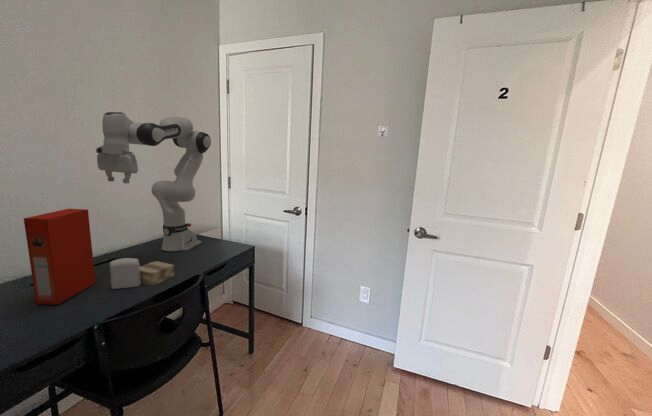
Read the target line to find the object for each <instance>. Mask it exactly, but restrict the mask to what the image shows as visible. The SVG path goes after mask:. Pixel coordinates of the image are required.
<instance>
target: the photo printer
mask: <svg viewBox="0 0 652 416" xmlns="http://www.w3.org/2000/svg"><path fill="white" fill-rule="evenodd" d="M140 265H141V264H140V260H139V259H138V258H133V257H132V258H131V257H123V258H117V259H114V260H112V261H110V262H109V272H110V273H109V274H110V283H111V284H110V285H111V289H112V290H115V289H116V290H118V289H124V288H125V289H127V288H136V287H139V286H141V284H142V283H141V277H140Z"/></svg>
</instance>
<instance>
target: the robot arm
mask: <svg viewBox="0 0 652 416" xmlns="http://www.w3.org/2000/svg"><path fill="white" fill-rule="evenodd" d="M102 134H103V137H104V138H103V144H102V145H100V146H99V147H97V148H95V151H96V153H97V155H96V163H97V168H98V169H99V171H105V175H106V177H107V181H108V182H114V181H115V177H114V176H113V172H114V173H123V175H124V178H123V179H122V183H123V184H130V179H131V177H132V174H138V172H139V168H138V161H137V157H136V155H135V154H134V152H132V151H130V145H140V146H141V145H142V146H150V147H156V146H159V145H160V144H162V142H163V141H165V140H168V139H169V140H172V142H173V143H174V145H175V146H177V147H179V148H182V149H185V153H184V154H183V155H182V156H181V158H180V159H179V161H178V163H177V165H176V166H175V167H174V169H173V172H174V175H175V176H176V178H175V180H173V181H172V180H170V181H169V180H159V181H155V182H154V183H153V184H152V186H151V193H152V195H153V197H155V199H156V200H157V201H158V203H159V206H160V208H161V210H162V217H163V224H162V231H163V237H162V243H161V250H162V251H164V252H165V251H166V252H179V251H189V250H191V249H193V248H195V247H196V245H197V246H198V244H199V245H201V244H202V241H201V240H200V239H198V236H197V233H196V232H194V231H192V230H191V229H189V228H191V226H192V223H188V222H187V223H186V212H185V209H184V208H183V207H182V206H181V205H180V204H179V203H184V202H185V203H186V202H191V201H192V200H194V198H196V197H195V196H196V188H195V187H194V185H193V183H194V182H193V181H194V178H195V176H196V175H197V172H198V171H199V169H200V167H201V165H202V162H203V159H204V155H203V154H205V153H206V152H207V150H209V148H210V146H211V144H212V139H211V137H210V135H209V134H208V133H206V132H204V131H198V130H194V125H193V123H192V121H191V120H190V119H188V118H186V117H181V116H171V117H166V118H163V119H161V120H160V121H159V124H156V123H153V122H144V123H143V122H135V121H133V120H131V119H130V118H129V117H128V116H127V115H126V113H124V112H121V111H120V112H119V111H116V112H115V111H107V112H106V113H104V114H103V116H102ZM194 246H195V247H194Z"/></svg>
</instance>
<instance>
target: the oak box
mask: <svg viewBox="0 0 652 416" xmlns="http://www.w3.org/2000/svg"><path fill="white" fill-rule="evenodd" d="M140 277H141V284H143V285H147V286H150V287H154V286H156V285H158V284H160V283H163V282H165V281H167V280H170V279H171V278H173V277H175V265H174V264H171V263H167V262H163V261H159V260H155V261H151V262H149V263H146V264H143V265H141V266H140Z"/></svg>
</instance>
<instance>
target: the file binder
mask: <svg viewBox="0 0 652 416" xmlns="http://www.w3.org/2000/svg"><path fill="white" fill-rule="evenodd" d="M23 223H24V231H25V239H26V244H27V250H28V258H29V264H30V271H31V275H32V284H33V291H34V296H35V297H34V298H35V304H36V305H54V306H57V305H60V304H61V303H63V302H64V301H66V300H68V299H70V298H72V297H74V296H75V295H77V294H79V293H80V292H82V291H84V290H86V289H87V288H89V287H91V286H92V285H94V284H96V275H95V273H96V272H95V265H94V253H93V247H92V246H93V245H92V238H91V237H92V236H91V228H90V227H91V225H90V215H89V209H83V208H66V209H61V210H56V211H52V212H48V213H47V212H46V213H43V214H37V215H33V216H29V217H24V218H23Z"/></svg>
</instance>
